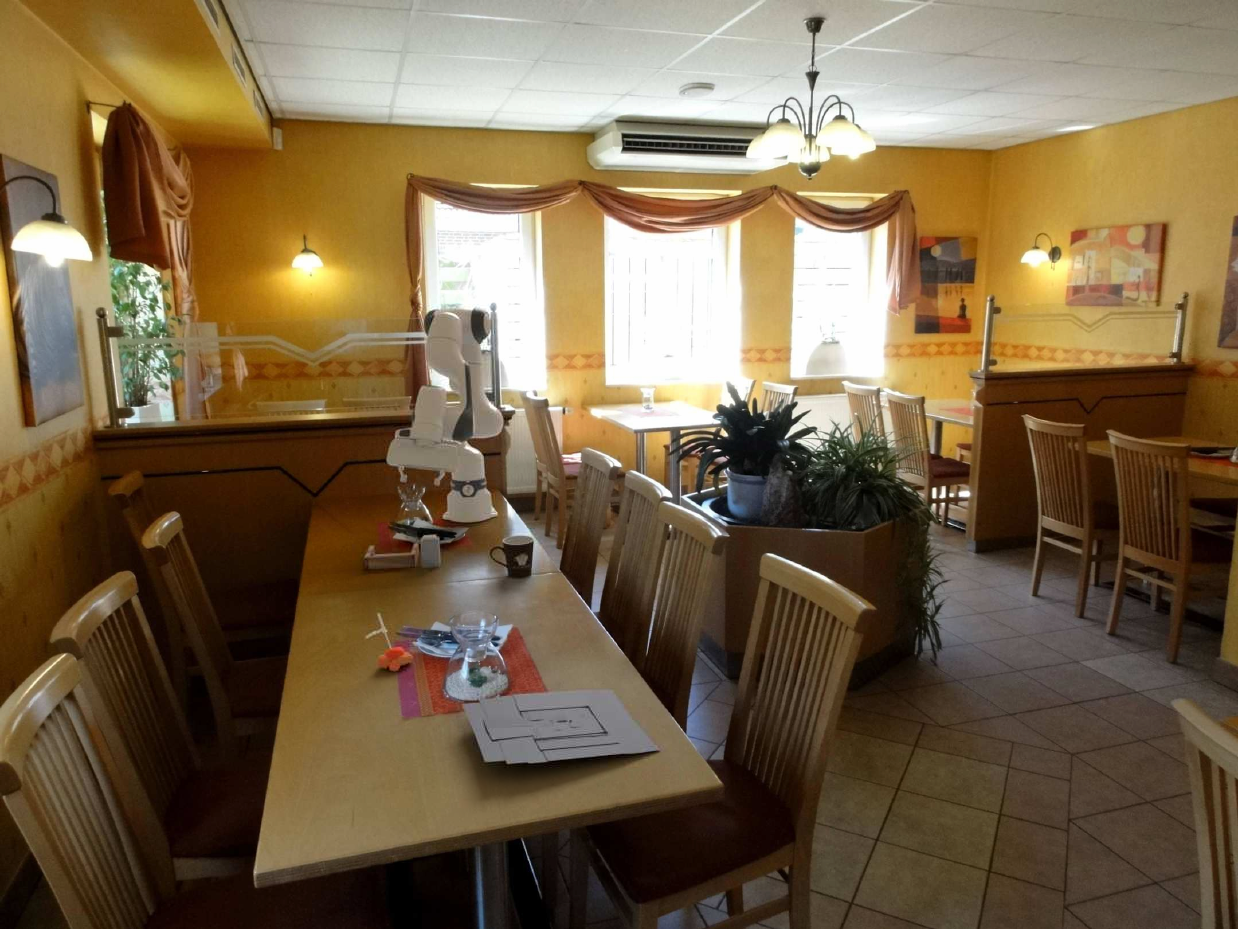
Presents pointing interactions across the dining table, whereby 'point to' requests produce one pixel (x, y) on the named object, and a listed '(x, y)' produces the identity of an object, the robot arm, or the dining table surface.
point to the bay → (390, 559)
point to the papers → (555, 726)
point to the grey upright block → (430, 551)
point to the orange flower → (391, 653)
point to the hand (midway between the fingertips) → (419, 483)
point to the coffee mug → (517, 555)
